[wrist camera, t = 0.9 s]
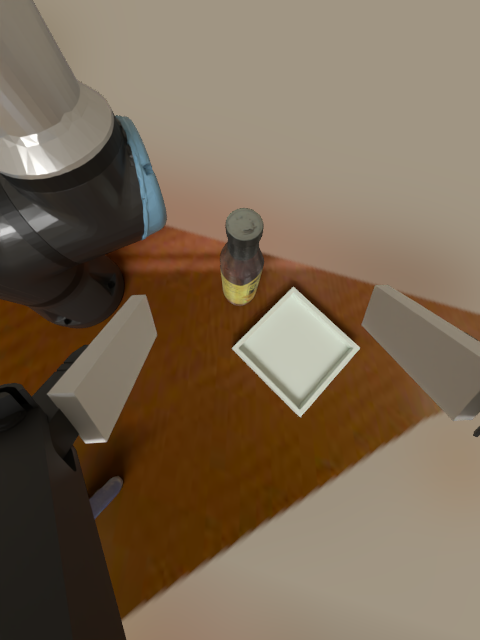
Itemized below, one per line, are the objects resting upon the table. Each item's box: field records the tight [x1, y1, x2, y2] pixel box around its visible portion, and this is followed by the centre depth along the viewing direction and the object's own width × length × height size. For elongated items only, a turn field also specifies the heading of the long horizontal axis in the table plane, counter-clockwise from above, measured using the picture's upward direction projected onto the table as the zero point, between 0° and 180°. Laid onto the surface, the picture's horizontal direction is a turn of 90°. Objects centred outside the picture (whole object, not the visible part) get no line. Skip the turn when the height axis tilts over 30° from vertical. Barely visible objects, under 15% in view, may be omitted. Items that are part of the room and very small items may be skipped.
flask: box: [89, 476, 123, 519], centre depth 29 cm, size 9×3×11 cm, turn 130°
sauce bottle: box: [220, 208, 264, 306], centre depth 32 cm, size 7×6×20 cm
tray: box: [232, 287, 360, 417], centre depth 38 cm, size 16×16×2 cm
